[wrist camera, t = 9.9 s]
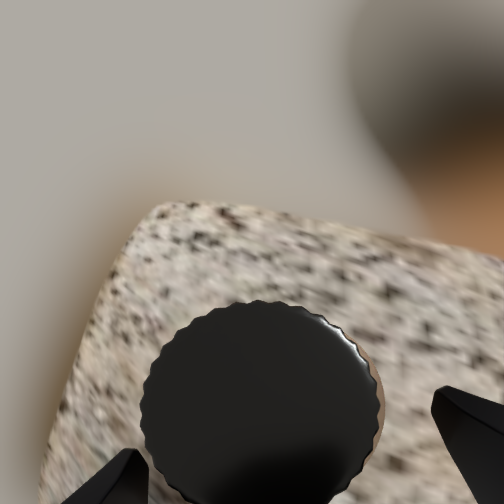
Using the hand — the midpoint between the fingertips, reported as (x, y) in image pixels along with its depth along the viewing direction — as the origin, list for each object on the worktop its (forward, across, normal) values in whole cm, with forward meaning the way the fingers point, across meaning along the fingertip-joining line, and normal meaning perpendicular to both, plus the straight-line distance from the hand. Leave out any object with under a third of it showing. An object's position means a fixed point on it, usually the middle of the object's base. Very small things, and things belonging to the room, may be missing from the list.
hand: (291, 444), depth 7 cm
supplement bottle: (+7, +1, +6) cm, 9 cm away
